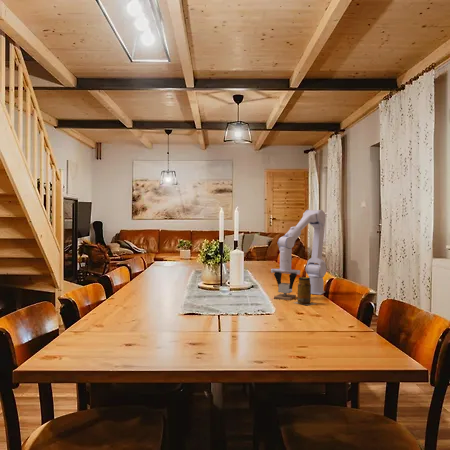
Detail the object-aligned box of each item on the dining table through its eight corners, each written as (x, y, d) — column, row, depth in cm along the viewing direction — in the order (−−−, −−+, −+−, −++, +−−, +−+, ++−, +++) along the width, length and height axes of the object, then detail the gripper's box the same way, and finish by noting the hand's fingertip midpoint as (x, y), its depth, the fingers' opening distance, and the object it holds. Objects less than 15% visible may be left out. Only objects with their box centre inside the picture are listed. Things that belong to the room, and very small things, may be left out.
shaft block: (280, 295, 230) (280, 286, 230) (295, 297, 227) (295, 288, 227) (274, 298, 221) (274, 289, 221) (289, 300, 218) (289, 291, 218)
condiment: (303, 301, 216) (303, 276, 216) (317, 304, 210) (317, 278, 209) (293, 303, 211) (293, 277, 211) (307, 306, 205) (307, 279, 205)
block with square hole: (281, 290, 228) (281, 282, 228) (291, 291, 226) (292, 283, 225) (278, 292, 223) (278, 284, 223) (288, 293, 221) (289, 285, 220)
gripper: (269, 260, 223) (268, 288, 224) (297, 262, 217) (297, 290, 217) (273, 259, 230) (273, 286, 230) (301, 260, 223) (301, 288, 224)
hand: (285, 288), depth 224 cm, fingers closed on block with square hole, 5 cm apart
